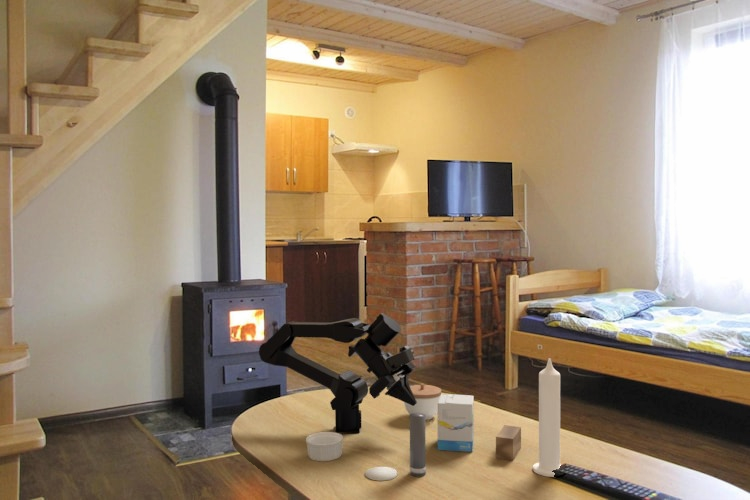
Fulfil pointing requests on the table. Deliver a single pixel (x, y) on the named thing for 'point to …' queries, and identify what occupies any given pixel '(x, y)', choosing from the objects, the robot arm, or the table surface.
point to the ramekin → (324, 446)
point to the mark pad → (381, 473)
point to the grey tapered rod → (417, 445)
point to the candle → (549, 422)
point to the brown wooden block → (508, 442)
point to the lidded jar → (424, 400)
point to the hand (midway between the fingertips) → (415, 404)
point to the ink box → (456, 422)
